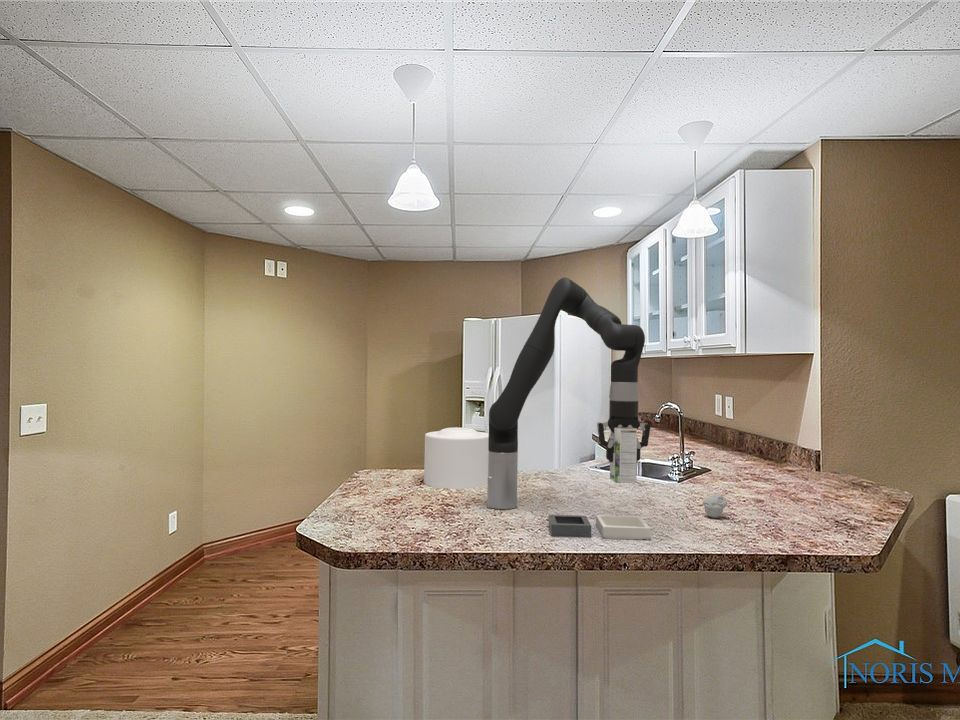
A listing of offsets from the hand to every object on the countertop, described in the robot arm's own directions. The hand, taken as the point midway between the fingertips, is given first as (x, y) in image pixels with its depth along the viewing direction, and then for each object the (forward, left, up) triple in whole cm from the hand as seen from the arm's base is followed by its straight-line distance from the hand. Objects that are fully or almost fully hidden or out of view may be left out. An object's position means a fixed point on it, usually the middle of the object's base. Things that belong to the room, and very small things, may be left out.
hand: (623, 461), depth 155 cm
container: (-49, +62, -19) cm, 81 cm away
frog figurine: (+31, +19, -19) cm, 41 cm away
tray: (0, 0, -19) cm, 19 cm away
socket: (-14, 0, -19) cm, 23 cm away
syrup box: (0, 0, -5) cm, 5 cm away
